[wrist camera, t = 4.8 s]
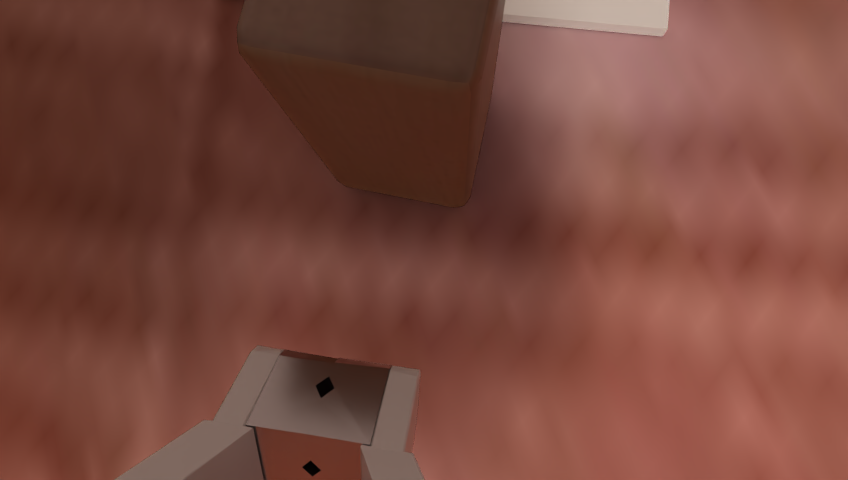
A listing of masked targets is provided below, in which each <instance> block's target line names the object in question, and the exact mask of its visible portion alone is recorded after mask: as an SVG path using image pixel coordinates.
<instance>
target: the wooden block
mask: <svg viewBox="0 0 848 480" xmlns="http://www.w3.org/2000/svg"><path fill="white" fill-rule="evenodd" d="M504 6H505V0H245V1H244V5H243V8H242V11H241V15H240V18H239V21H238V25H237V43H238V49H239V53H240V55H241V56H242V57H243V58H244V60H245V61H246V62H247V64H248V65H249V66H250V68H251V69H252V70H253V71H254V73H255V74H256V75H257V77H258V78H259V79H260V81H261V82H262V83H263V84H264V86H265V87H266V88H267V90H268V91H269V92H270V94H271V95H272V96H273V97H274V99H275V100H276V101H277V103H278V104H279V105H280V107H281V108H282V109H283V110H284V112H285V113H286V114H287V116H288V117H289V118H290V120H291V121H292V122H293V123H294V125H295V126H296V127H297V129H298V130H299V131H300V133H301V134H302V135H303V136H304V138H305V139H306V140H307V142H308V143H309V144H310V145H311V147H312V148H313V149H314V151H315V152H316V153H317V155H318V156H319V157H320V158H321V160H322V161H323V162H324V164H325V165H326V166H327V168H328V169H329V170H330V171H331V173H332V174H333V175H334V177H335V178H336V179H337V181H339V182H340V183H342V184H343V185H345V186H347V187H352V188H357V189H362V190H367V191H372V192H377V193H382V194H387V195H392V196H397V197H403V198H408V199H413V200H418V201H423V202H428V203H433V204H438V205H443V206H448V207H453V208H454V207H459V206H464V205H465V204H466V202H467V201H468V199H469V198H470V195H471V191H472V186H473V181H474V176H475V171H476V167H477V162H478V157H479V152H480V147H481V143H482V138H483V133H484V128H485V123H486V119H487V114H488V109H489V104H490V99H491V95H492V88H493V81H494V74H495V68H496V61H497V54H498V47H499V40H500V33H501V27H502V20H503V13H504Z"/></svg>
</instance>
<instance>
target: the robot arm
mask: <svg viewBox="0 0 848 480" xmlns="http://www.w3.org/2000/svg"><path fill="white" fill-rule="evenodd" d="M420 378H421V370H419V369H412V368H405V367H398V366H392V365H388V364H380V363H373V362H365V361H358V360H350V359H343V358H338V359H336V358H330V357H325V356H319V355H313V354H308V353H302V352H296V351H290V350H283V349H277V348H271V347H265V346H259V345H257V346H256V347H255V348H254V349H253V350H252V351H251V352H250V354H249V355H248V357H247V359H246V361H245V363H244V365H243V366H242V368H241V370H240V372H239V374H238V375H237V377H236V379H235V381H234V383H233V384H232V386H231V388H230V390H229V392H228V393H227V395H226V397H225V399H224V401H223V403H222V404H221V406H220V408H219V410H218V412H217V413H216V415H215V417H214V419H213V421H211V420H203V421H201V422H200V423H198V424H197V425H195V426H194V427H192V428H191V429H189V430H188V431H186V432H185V433H183V434H182V435H180V436H179V437H177V438H176V439H174V440H173V441H171V442H170V443H168V444H167V445H165V446H164V447H162V448H161V449H159V450H158V451H156V452H155V453H153V454H152V455H150V456H149V457H147V458H146V459H144V460H143V461H141V462H140V463H138V464H137V465H135V466H134V467H132V468H131V469H130V470H128V471H127V472H125V473H124V474H122V475H121V476H119V477H118V478H116V479H115V480H425V479H424V477H423V474H422V472H421V470H420V467H419V465H418V463H417V461H416V458H415V456H414V454H413V453H412V450H413V445H414V439H415V430H416V422H417V414H418V403H419V390H420Z"/></svg>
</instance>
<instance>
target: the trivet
mask: <svg viewBox="0 0 848 480" xmlns="http://www.w3.org/2000/svg"><path fill="white" fill-rule="evenodd" d="M669 1H670V0H505V6H504V13H503V20H502V22H510V23H521V24H532V25H543V26H554V27H565V28H576V29H586V30H597V31H608V32H619V33H630V34H641V35H652V36H663V35H664V34H665V32H666V31H667V29H668V16H669Z"/></svg>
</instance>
